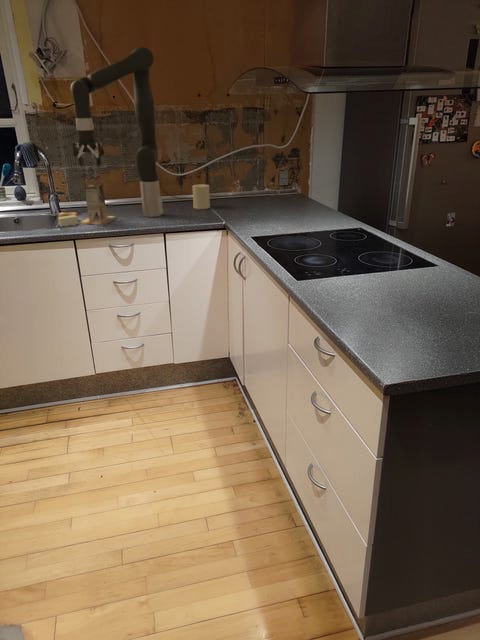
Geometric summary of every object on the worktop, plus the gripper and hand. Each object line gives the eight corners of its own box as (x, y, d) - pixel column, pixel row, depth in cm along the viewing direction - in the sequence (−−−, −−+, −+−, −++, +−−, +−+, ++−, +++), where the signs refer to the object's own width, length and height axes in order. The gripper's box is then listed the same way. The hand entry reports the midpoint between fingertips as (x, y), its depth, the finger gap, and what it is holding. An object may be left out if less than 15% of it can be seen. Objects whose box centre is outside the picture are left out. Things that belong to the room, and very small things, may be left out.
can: (189, 207, 264) (188, 185, 259) (201, 204, 270) (200, 182, 265) (201, 209, 259) (200, 186, 253) (213, 206, 265) (212, 184, 260)
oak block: (78, 220, 242) (76, 212, 240) (75, 222, 238) (73, 214, 236) (62, 220, 242) (60, 212, 240) (59, 222, 238) (57, 214, 237)
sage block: (75, 223, 237) (74, 214, 235) (78, 224, 234) (76, 216, 232) (59, 225, 232) (57, 217, 231) (61, 227, 229) (60, 218, 228)
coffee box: (94, 216, 243) (90, 184, 236) (107, 216, 242) (103, 183, 236) (88, 221, 234) (83, 187, 228) (102, 221, 234) (97, 187, 227)
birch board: (115, 218, 244) (115, 216, 243) (103, 225, 231) (103, 222, 231) (93, 217, 246) (93, 215, 246) (80, 224, 234) (79, 222, 233)
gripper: (103, 128, 223) (108, 165, 230) (75, 128, 225) (80, 164, 232) (95, 129, 216) (101, 167, 223) (66, 129, 219) (72, 167, 226)
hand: (90, 166), depth 228 cm, fingers open, 8 cm apart
